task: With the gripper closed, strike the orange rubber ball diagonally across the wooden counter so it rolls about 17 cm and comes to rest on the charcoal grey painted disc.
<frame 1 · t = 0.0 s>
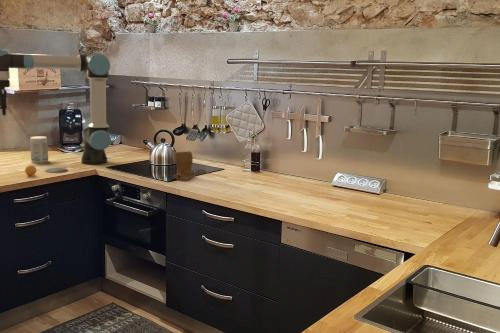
hand: (3, 119, 277), 28 cm above the worktop, tool pointing down, fingers open, 13 cm apart
supplement tub: (39, 162, 312), on the worktop
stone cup: (183, 178, 286), on the worktop
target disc: (56, 170, 290), on the worktop
ball: (30, 170, 275), on the worktop
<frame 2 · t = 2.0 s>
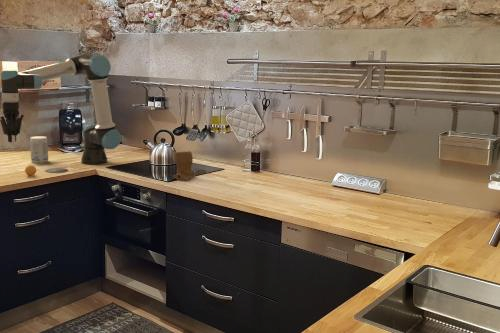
hand: (12, 148, 264), 16 cm above the worktop, tool pointing down, fingers closed
nothing on the worktop moved.
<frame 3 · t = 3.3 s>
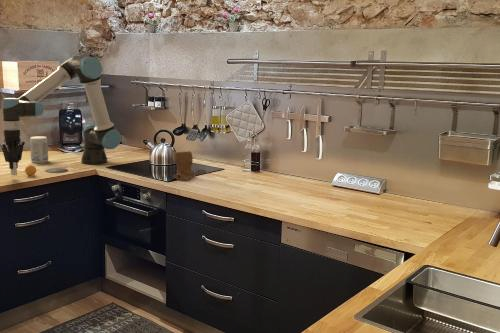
hand: (13, 174, 267), 2 cm above the worktop, tool pointing down, fingers closed
nothing on the worktop moved.
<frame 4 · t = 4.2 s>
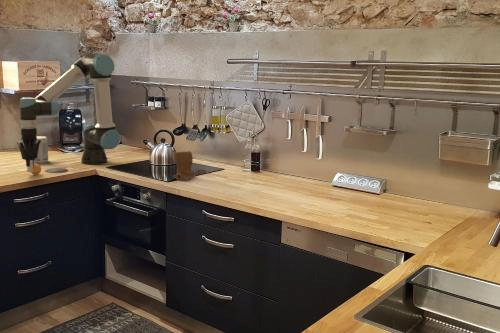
hand: (30, 172, 275), 2 cm above the worktop, tool pointing down, fingers closed
ball: (35, 169, 278), on the worktop, touching gripper
everything else where it was.
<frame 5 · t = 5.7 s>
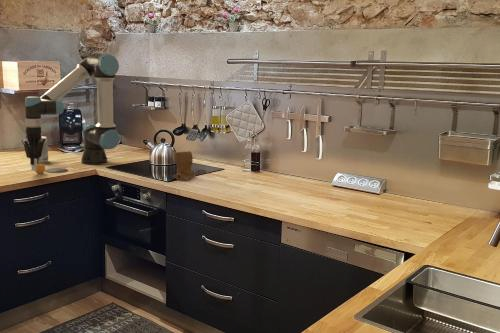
hand: (34, 170, 277), 2 cm above the worktop, tool pointing down, fingers closed
ball: (39, 168, 280), on the worktop, touching gripper
everything else where it was.
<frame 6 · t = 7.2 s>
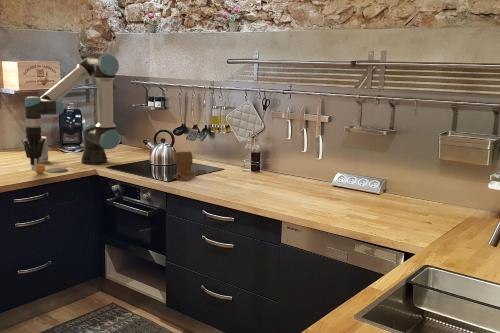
hand: (34, 170, 278), 2 cm above the worktop, tool pointing down, fingers closed
nothing on the worktop moved.
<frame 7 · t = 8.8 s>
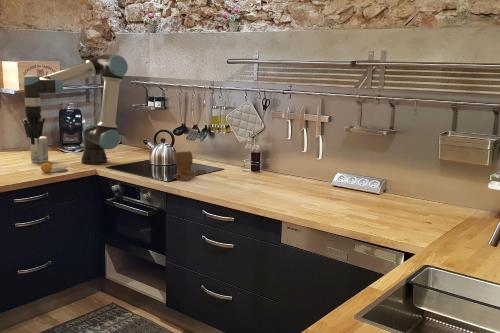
hand: (35, 150, 276), 13 cm above the worktop, tool pointing down, fingers closed
ball: (46, 167, 283), on the worktop
everything else where it was.
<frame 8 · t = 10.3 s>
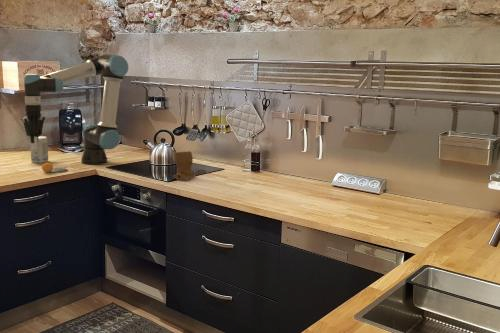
hand: (34, 148, 276), 14 cm above the worktop, tool pointing down, fingers closed
nothing on the worktop moved.
at the end: ball 6.3 cm from the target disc (horizontally); ball at rest at the end (0.0 cm/s); ball moved 10.4 cm from its start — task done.
